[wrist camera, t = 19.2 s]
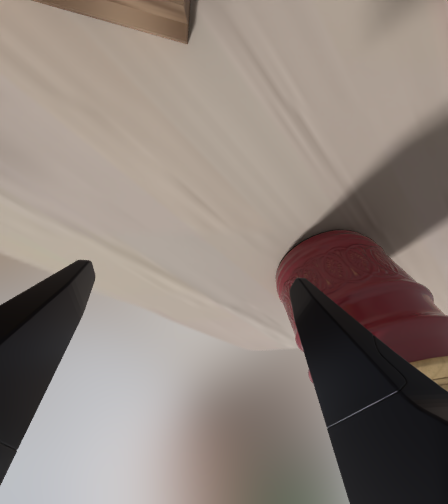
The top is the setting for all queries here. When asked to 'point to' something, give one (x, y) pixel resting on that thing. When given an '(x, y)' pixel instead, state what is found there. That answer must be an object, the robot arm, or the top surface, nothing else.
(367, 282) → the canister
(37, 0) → the wooden tray
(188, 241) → the top surface
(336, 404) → the robot arm
